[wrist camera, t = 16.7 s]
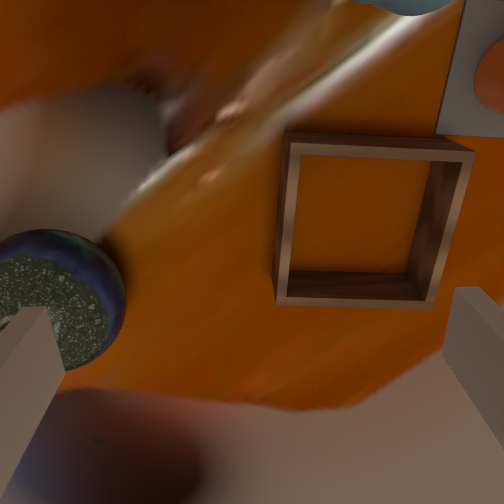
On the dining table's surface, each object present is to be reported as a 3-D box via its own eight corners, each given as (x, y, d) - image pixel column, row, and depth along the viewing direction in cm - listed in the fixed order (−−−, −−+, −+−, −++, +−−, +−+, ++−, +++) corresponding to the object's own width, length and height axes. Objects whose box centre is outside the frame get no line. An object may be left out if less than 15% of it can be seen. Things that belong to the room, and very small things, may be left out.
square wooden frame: (284, 130, 43) (291, 142, 38) (447, 139, 44) (476, 151, 39) (271, 277, 50) (275, 304, 45) (411, 281, 51) (432, 309, 46)
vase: (62, 347, 54) (12, 433, 42) (-29, 253, 48) (-118, 322, 36) (163, 294, 51) (140, 369, 39) (79, 186, 45) (22, 237, 33)
